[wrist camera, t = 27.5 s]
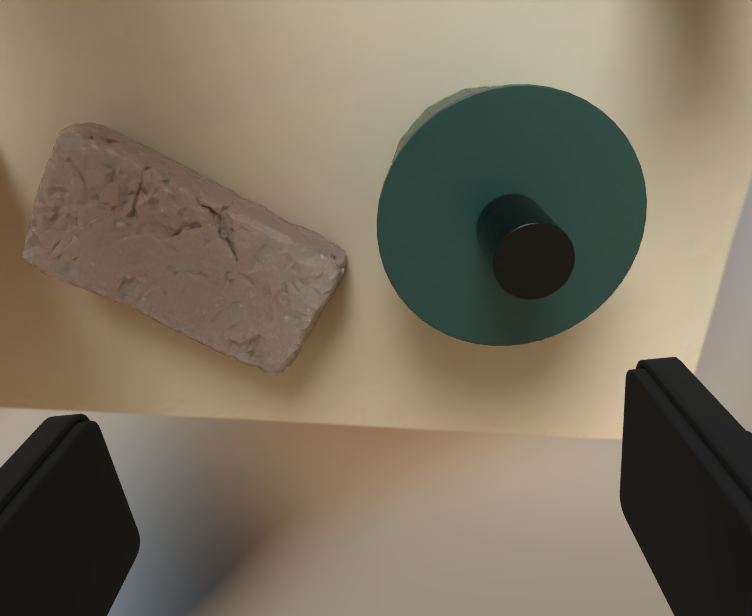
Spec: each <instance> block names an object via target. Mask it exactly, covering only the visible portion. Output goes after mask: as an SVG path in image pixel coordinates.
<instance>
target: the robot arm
mask: <svg viewBox="0 0 752 616" xmlns="http://www.w3.org/2000/svg"><path fill="white" fill-rule="evenodd" d="M620 502H621V507H622V511H623V514H624V516H625V518H626V520H627V522H628V524H629V526H630V528H631V530H632V532H633V534H634V536H635V538H636V540H637V542H638V544H639V546H640V548H641V550H642V552H643V554H644V556H645V558H646V560H647V562H648V564H649V566H650V568H651V570H652V572H653V574H654V576H655V578H656V580H657V582H658V584H659V586H660V588H661V590H662V592H663V594H664V596H665V598H666V600H667V602H668V604H669V606H670V608H671V610H672V612H673V614H674V616H752V433H750V432H748V431H746V430H745V429H744V428H743V427H742V426H741V425H740V424H739V423H738V422H737V421H736V420H735V418H734V417H733V416H732V415H731V414H730V413H729V412H728V411H727V410H726V409H725V408H724V407H723V406H722V405H721V404H720V402H719V401H718V400H717V399H716V398H715V397H714V396H713V395H712V394H711V393H710V392H709V391H708V390H707V389H706V387H705V386H704V385H703V384H702V383H701V382H700V381H699V380H698V379H697V378H696V377H695V376H694V375H693V374H692V372H691V371H690V370H689V369H688V368H687V367H686V366H685V365H684V364H683V363H682V362H681V361H680V360H679V359H678V358H676V357H669V358H658V359H648V360H640V361H639V362H638V364H637V366H636V369H633V370H629V371H628V372H627V374H626V384H625V404H624V423H623V442H622V461H621V480H620ZM139 547H140V536H139V532H138V529H137V527H136V524H135V521H134V519H133V516H132V513H131V510H130V508H129V505H128V502H127V500H126V497H125V494H124V492H123V489H122V486H121V484H120V481H119V478H118V475H117V473H116V470H115V467H114V465H113V462H112V459H111V457H110V454H109V451H108V449H107V446H106V443H105V440H104V438H103V435H102V432H101V430H100V427H99V425H98V424H97V423H96V422H94V421H90V420H89V418H88V417H87V416H86V415H83V414H74V415H65V416H54V417H49V418H47V419H46V420H45V421H44V422H43V423H42V424H41V425H40V426H39V427H38V428H37V429H36V430H35V431H34V432H33V433H32V435H31V436H30V437H29V438H28V439H27V440H26V441H25V442H24V443H23V444H22V445H21V446H20V447H19V449H18V450H17V451H16V452H15V453H14V454H13V455H12V456H11V457H10V458H9V459H8V460H7V461H6V463H4V465H3V466H2V467H1V468H0V616H107V614H108V613H109V611H110V608H111V607H112V604H113V602H114V600H115V598H116V597H117V595H118V593H119V590H120V589H121V586H122V585H123V583H124V580H125V579H126V577H127V574H128V573H129V570H130V568H131V567H132V564H133V563H134V561H135V559H136V556H137V554H138V551H139Z"/></svg>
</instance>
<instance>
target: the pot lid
mask: <svg viewBox="0 0 752 616" xmlns="http://www.w3.org/2000/svg"><path fill="white" fill-rule="evenodd" d="M646 208H647V198H646V188H645V181H644V177H643V173H642V169H641V165H640V163H639V161H638V158H637V156H636V153H635V151H634V149H633V147H632V146H631V144H630V142H629V141H628V139H627V137H626V136H625V134H624V133H623V132H622V131H621V130H620V128H619V127H618V126H617V125H616V124H615V122H614V121H613V120H611V119H610V118H609V117H608V116H607V115H606V114H605V113H604V112H602V111H601V110H600V109H598V108H597V107H595V106H594V105H592V104H591V103H589V102H588V101H586V100H584V99H582V98H580V97H578V96H575V95H573V94H571V93H569V92H565V91H562V90H558V89H555V88H551V87H546V86H538V85H530V84H517V85H504V86H497V87H491V88H488V89H484V90H481V91H477V92H474V93H471V94H469V95H467V96H464V97H462V98H460V99H458V100H455V101H454V102H452V103H450V104H449V105H447V106H445V107H444V108H442V109H440V110H439V111H437V112H436V113H435V114H434V115H432V116H431V117H430V118H429V119H427V120H426V121H425V122H424V123H423V124H422V125H421V126H420V127H419V128H418V129H417V130H416V131H415V132H414V133H413V134H412V135H411V136H410V137H409V139H408V140H407V141H406V143H405V144H404V145H403V147H402V148H401V149H400V151H399V152H398V154H397V156H396V158H395V159H394V161H393V163H392V165H391V166H390V169H389V171H388V174H387V176H386V179H385V181H384V184H383V188H382V191H381V195H380V199H379V206H378V214H377V238H378V245H379V252H380V256H381V259H382V262H383V266H384V269H385V271H386V273H387V276H388V278H389V280H390V282H391V284H392V286H393V287H394V289H395V290H396V292H397V294H398V295H399V297H400V298H401V299H402V300H403V301H404V303H405V304H406V305H407V306H408V307H409V308H410V309H411V310H412V311H413V312H414V313H415V314H416V315H417V316H418V317H419V318H420V319H422V320H423V321H425V322H426V323H428V324H429V325H430V326H432V327H433V328H435V329H437V330H439V331H441V332H443V333H445V334H447V335H449V336H452V337H455V338H457V339H460V340H463V341H467V342H471V343H476V344H483V345H491V346H510V345H519V344H526V343H530V342H535V341H539V340H542V339H545V338H548V337H551V336H554V335H556V334H559V333H561V332H563V331H565V330H567V329H569V328H571V327H573V326H574V325H576V324H577V323H579V322H581V321H582V320H584V319H585V318H587V317H588V316H589V315H590V314H592V313H593V312H594V311H595V310H597V309H598V308H599V307H600V306H601V305H602V304H603V303H604V302H605V301H606V300H607V299H608V298H609V297H610V296H611V295H612V294H613V292H614V291H615V290H616V289H617V287H618V286H619V285H620V284H621V282H622V281H623V279H624V277H625V276H626V274H627V273H628V271H629V269H630V268H631V266H632V263H633V261H634V259H635V257H636V255H637V252H638V250H639V247H640V243H641V240H642V237H643V233H644V227H645V221H646Z"/></svg>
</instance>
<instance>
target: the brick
mask: <svg viewBox="0 0 752 616" xmlns="http://www.w3.org/2000/svg"><path fill="white" fill-rule="evenodd" d="M22 254H23V259H24V260H26V261H27V262H28V263H30V264H32V265H34V266H36V267H37V268H38V269H39V270H40V271H41V272H42V273H44V274H47V275H49V276H52V277H54V278H57V279H59V280H62V281H64V282H67V283H69V284H71V285H74V286H76V287H79V288H82V289H85V290H88V291H91V292H94V293H96V294H99V295H101V296H105V297H109V298H111V299H112V300H114V301H116V302H118V303H121V304H124V305H131V306H134V307H135V308H137V309H138V310H139V311H140V312H141V313H143V314H145V315H147V316H149V317H150V318H152V319H154V320H156V321H158V322H160V323H162V324H163V325H165V326H167V327H169V328H171V329H173V330H176V331H178V332H180V333H183V334H184V335H186V336H188V337H190V338H192V339H194V340H196V341H198V342H200V343H202V344H204V345H206V346H209V347H210V348H212V349H213V350H215V351H218V352H220V353H222V354H224V355H227V356H234V357H235V358H236V359H237V360H238V361H239V362H241V363H244V364H246V365H250V366H255V367H258V368H259V369H261V370H262V371H264V372H265V373H272V374H277V373H281V372H283V371H284V370H285V369H286V367H288V366H290V365H291V364H292V363H293V361H294V360H295V359H296V357H297V355H298V353H299V351H300V349H301V347H302V346H301V345H302V343H303V342H304V341H305V339H306V338H307V337H308V336H309V334H310V332H311V328H312V327H313V325H314V324H315V322H316V321H317V319H318V318H319V316H320V314H321V311H322V309H323V307H324V306H325V305H326V304H327V302H328V301H329V299H330V297H331V296H332V294H333V293H334V291H335V289H336V288H337V285H338V284H339V282H340V280H341V278H342V276H343V273H344V269H345V266H346V262H347V255H346V253H345V252H344V251H343V250H342V249H340V247H339V246H337V245H335V244H332V243H330V242H329V241H327V240H326V239H325V238H324V237H322V236H320V235H318V234H316V233H314V232H312V231H309V230H307V229H305V228H303V227H301V226H297V225H294V224H290V223H287V222H286V221H284V220H282V219H281V218H279V217H278V216H276V215H275V214H274V213H272V212H271V211H269V210H267V209H266V208H264V207H263V206H261V205H258V204H255V203H253V202H250V201H247V200H244V199H243V198H241V197H240V196H238V195H237V194H236V193H235V192H233V191H232V190H230V189H227V188H225V187H223V186H221V185H219V184H217V183H215V182H213V181H212V180H210V179H208V178H205V177H202V176H199V175H198V173H196V172H194V171H192V170H191V169H189V168H187V167H185V166H183V165H181V164H179V163H178V162H174V161H172V160H171V159H169V158H168V157H165V156H163V155H161V154H159V153H157V152H155V151H153V150H152V149H150V148H148V147H145V146H143V145H140V144H138V143H136V142H134V141H132V140H130V139H128V138H126V137H124V136H123V135H121V134H120V133H118V132H117V131H114V130H111V129H109V128H107V127H106V126H103V125H99V124H94V123H85V124H75V125H72V126H70V127H67V128H65V129H64V130H62V131H61V132H60V133H59V135H58V137H57V141H56V144H55V146H54V148H53V156H52V157H51V158H50V160H49V161H48V162H47V165H46V169H45V172H44V174H43V177H42V180H41V183H40V186H39V189H38V192H37V195H36V198H35V202H34V205H33V211H32V216H31V220H30V225H29V229H28V232H27V236H26V241H25V246H24V249H23V251H22Z"/></svg>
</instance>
